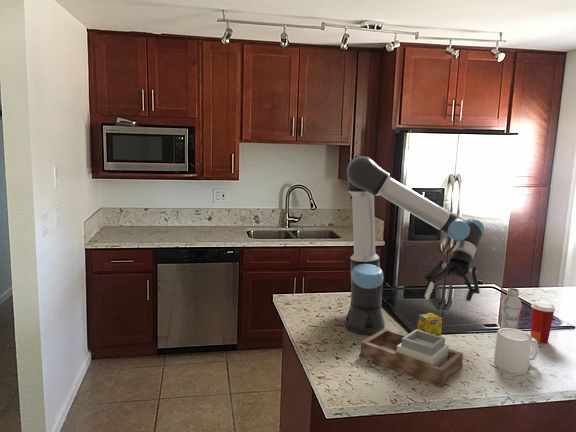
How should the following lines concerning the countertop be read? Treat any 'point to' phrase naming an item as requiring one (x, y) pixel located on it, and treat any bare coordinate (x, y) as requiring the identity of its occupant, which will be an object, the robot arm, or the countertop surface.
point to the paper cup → (541, 321)
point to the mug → (514, 350)
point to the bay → (408, 358)
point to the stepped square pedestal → (424, 347)
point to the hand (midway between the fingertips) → (443, 302)
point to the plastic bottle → (511, 309)
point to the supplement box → (430, 323)
